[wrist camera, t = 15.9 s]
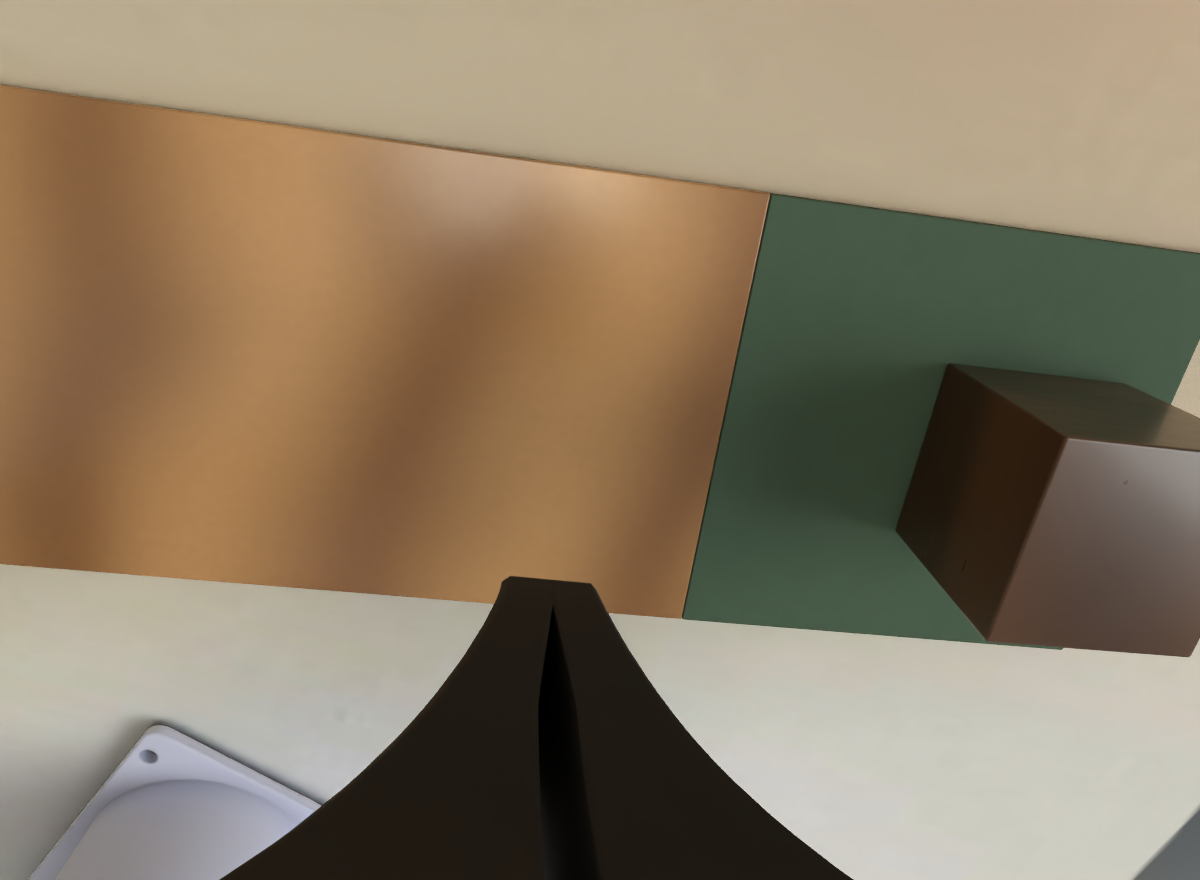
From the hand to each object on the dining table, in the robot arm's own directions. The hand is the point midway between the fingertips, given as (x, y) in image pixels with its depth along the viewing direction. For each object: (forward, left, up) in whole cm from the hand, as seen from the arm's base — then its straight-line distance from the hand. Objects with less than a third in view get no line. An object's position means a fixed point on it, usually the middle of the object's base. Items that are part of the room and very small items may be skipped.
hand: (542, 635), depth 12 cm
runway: (-6, +10, -9) cm, 15 cm away
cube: (+7, -10, -9) cm, 15 cm away
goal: (+6, -9, -9) cm, 14 cm away
